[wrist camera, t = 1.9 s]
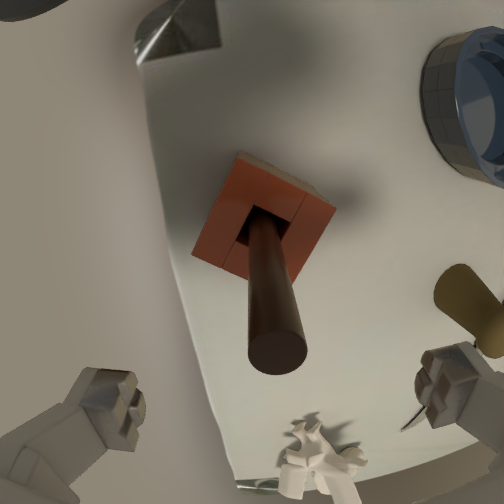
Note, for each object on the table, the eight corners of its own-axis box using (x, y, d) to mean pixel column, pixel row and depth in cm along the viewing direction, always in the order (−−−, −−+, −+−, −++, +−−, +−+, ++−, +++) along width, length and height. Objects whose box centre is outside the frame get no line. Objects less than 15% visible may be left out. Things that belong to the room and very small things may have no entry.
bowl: (395, 123, 25) (428, 124, 20) (447, 10, 20) (480, -5, 15) (492, 204, 28) (527, 220, 22) (534, 99, 23) (568, 102, 17)
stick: (245, 208, 28) (237, 364, 10) (254, 190, 28) (265, 321, 9) (263, 217, 28) (288, 382, 10) (273, 199, 28) (319, 342, 9)
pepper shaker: (445, 259, 30) (506, 310, 20) (481, 268, 31) (539, 315, 20) (425, 308, 32) (474, 369, 22) (461, 313, 33) (510, 367, 22)
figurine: (293, 398, 46) (324, 459, 46) (244, 443, 38) (283, 505, 38) (379, 393, 36) (403, 463, 35) (335, 455, 28) (368, 523, 27)
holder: (205, 221, 29) (190, 255, 21) (240, 149, 26) (237, 157, 19) (276, 254, 30) (284, 297, 22) (313, 186, 27) (337, 208, 20)
